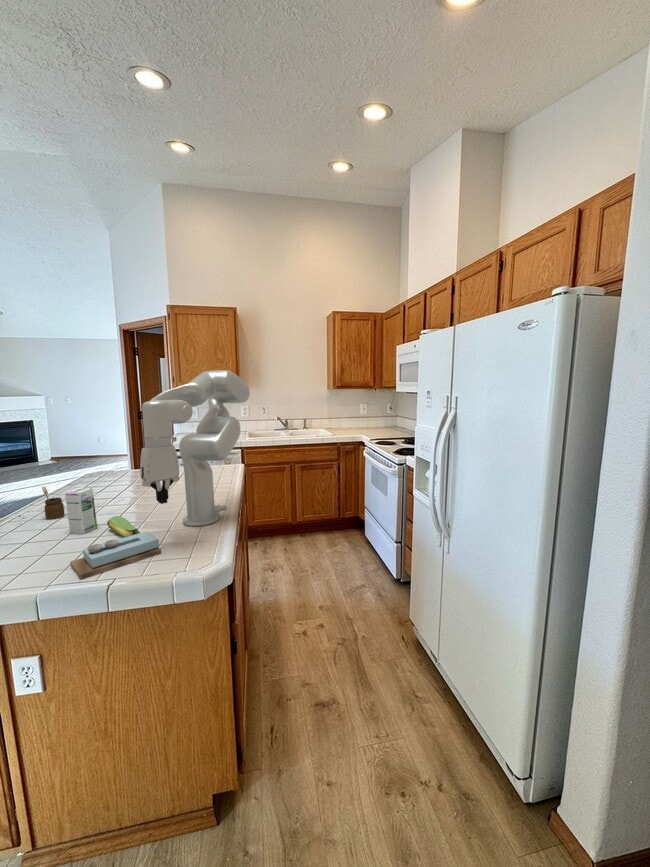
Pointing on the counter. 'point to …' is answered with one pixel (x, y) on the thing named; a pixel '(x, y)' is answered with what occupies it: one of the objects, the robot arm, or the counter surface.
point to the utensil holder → (53, 506)
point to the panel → (122, 549)
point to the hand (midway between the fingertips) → (162, 502)
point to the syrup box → (81, 510)
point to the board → (86, 570)
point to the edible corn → (122, 526)
